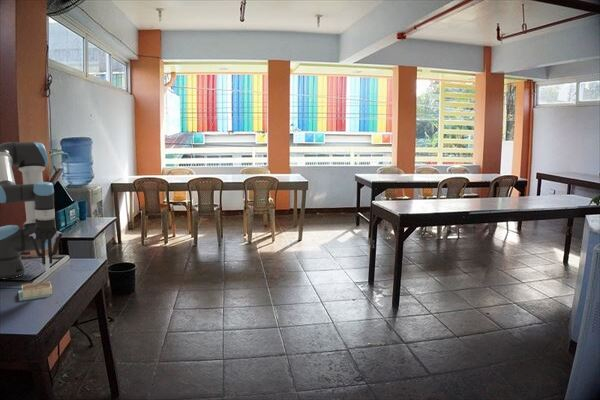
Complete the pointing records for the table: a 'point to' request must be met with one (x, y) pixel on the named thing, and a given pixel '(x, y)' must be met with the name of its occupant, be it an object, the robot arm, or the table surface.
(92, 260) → the table surface
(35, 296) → the mat
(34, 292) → the slab
